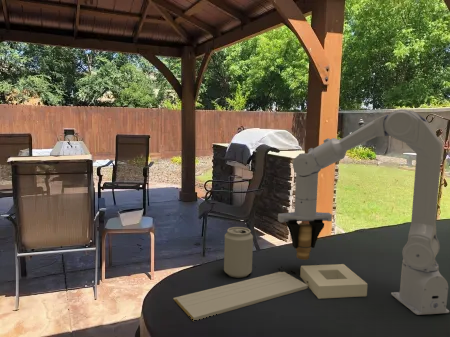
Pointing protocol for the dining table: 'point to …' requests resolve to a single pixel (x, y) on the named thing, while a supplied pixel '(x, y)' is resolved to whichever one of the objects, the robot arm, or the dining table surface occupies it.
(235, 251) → the can
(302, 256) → the oak peg
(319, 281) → the socket board
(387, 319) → the dining table surface
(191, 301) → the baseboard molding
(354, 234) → the dining table surface
